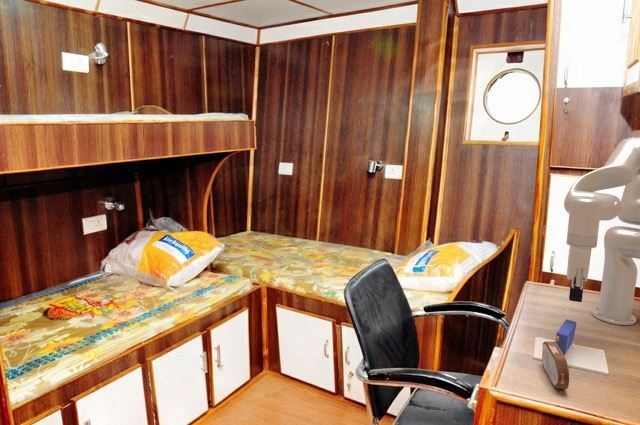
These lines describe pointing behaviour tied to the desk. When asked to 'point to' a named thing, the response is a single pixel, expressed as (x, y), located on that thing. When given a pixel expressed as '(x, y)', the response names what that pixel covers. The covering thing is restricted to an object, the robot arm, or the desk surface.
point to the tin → (555, 365)
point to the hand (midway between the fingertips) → (575, 300)
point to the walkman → (566, 336)
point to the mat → (578, 357)
